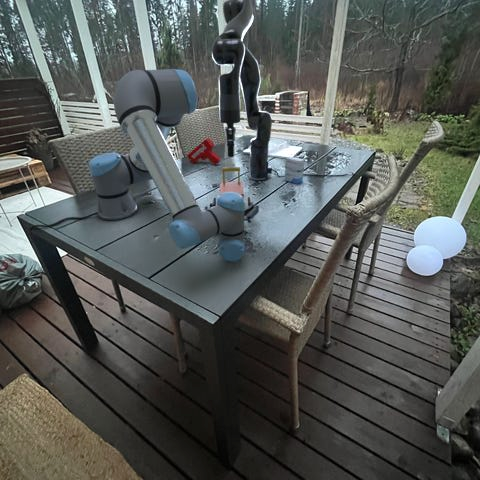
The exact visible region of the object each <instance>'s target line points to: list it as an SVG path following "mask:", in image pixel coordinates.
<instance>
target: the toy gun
mask: <svg viewBox="0 0 480 480" xmlns="http://www.w3.org/2000/svg"><path fill="white" fill-rule="evenodd" d="M213 148H215V143H214V142H212V140H211V138H209V137H208V138H205V139H204V140H203V141H201V143H199V144H198V145H196V147H195V148H194V149H193V150H191V151H190V152H189V153H188V154H187V155H186V157H187V159H188V160H189V161H190V162H191V163H192V164H194V163H197V162H198V161H199V160H200V159H201V160H202V161H205V160H209V161H210V162H211V163H212V165H213V166H215V165H217V164H219V163H220V160H221V156H220V155H218V154H217V153H216V152H214V151H213Z"/></svg>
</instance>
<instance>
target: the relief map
mask: <svg viewBox="0 0 480 480" xmlns="http://www.w3.org/2000/svg"><path fill="white" fill-rule="evenodd" d="M302 147H303V146H294V145H292V144H290V143H289V142H288V141H284V142H282V143H280V144H279V143H278V142H276V141H273V140H272V139H271V138H270V141H269V145H268V157H271V158H277V159H285V160H286V159H287V158H289V157H296V156H297V155H298V154H299V153H300V152H302V151H303V150H304V148H303V149H302ZM250 148H251V145H250V146H249V147H248V148H247V149H245V150H242V153H243V154H247V155H248V154H249V155H250ZM296 153H297V154H296Z"/></svg>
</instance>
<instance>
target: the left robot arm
mask: <svg viewBox="0 0 480 480" xmlns="http://www.w3.org/2000/svg"><path fill="white" fill-rule="evenodd" d="M197 106H198V95H197V89H196V85H195V82H194V81H193V78H192V77H191V75H190V74H189V73H188V72H187V71H185V70H184V69H175V68H170V69H134V70H131V71H129V72H127V73H125V74H124V75H123V76H122V77H120V79H119V81H118V82H117V85H116V87H115V90H114V95H113V109H114V113H115V117H116V120H117V122H118V124H119V126H120V128H121V130H122V131H123V133H125V134H127V135H129V137H130V138H131V140H132V142H133V144H134V145H133V146H132V147H131V148H130V150H129V152H128V153H127V154H122V155H120V154H119V153H118V152H105V153H102V154H99V155H96V156H94V157H93V158H91V159H90V160H89V162H88V169H89V175H90V176H91V179H92V182H93V185H94V189H95V192H96V195H97V197H98V198H97V212H94V213H91V214H88V215H85V216H80V217H79V216H78V217H77V216H69V217H65V218H62V219H60V220H58V221H56V222H54V223H51V224H34V225H32V226H30V227H29V228H28V231H31V230H33V229H34V228H39V227H40V228H49V227H54V226H56V225H58V224H60V223H63V222H65V221H67V220H83V219H84V220H85V219H87V218H90V217H93V216H96V215H98V217H99V218H100V219H101V220H104V221H120V220H124V219H127V218H129V217H132V216H133V215H135V214H136V213H137V212H138V206H137V203H136V202H137V198H136V197H135V196H132V195H131V194H130V192H129V186H131V185H134V184H139V183H142V182H145V181H149V180H152V182H153V183H154V185H155V187H156V189H157V191H158V193H159V194H160V197H161V198H162V200H163V202H164V204H165V206H166V208H167V210H168V212H169V214H170V216H171V218H172V220H173V221H172V222H171V223H170V224H169V227H168V230H169V231H168V232H169V234H170V238H171V240H172V241H173V243H174V244H175V246H177V247H178V248H180V249H183V250H184V249H188V248H191V247H193V246H195V245H199V244H201V243H202V242H204V241H207V240H208V239H211V238H214V237H215V236H217V235H218V236H219V238H218V239H219V245H218V250H219V255H220V257H221V258H222V259H223V260H224V261H226V262H238V261H240V260H242V258H243V257H244V256H245V253H246V252H245V251H246V244H245V222H247V223H249V224H251V223H252V220H253V219H254V218H255V217H256V216H257V215H258V214H259V212H260V211H259V210H260V205H258V204H256V205H254V202H253V201H251V197H250V196H248V197H247V207H245V197H244V198H243V196H242V195H240V194H238V193H235V192H225V193H222V194H220V195H219V194H218V196H217V198H216V197H213V200H212V201H213V202H210V203H209V206H207V205H206V206H204V209H203V210H202V209H201V207H200V205H199V203H198V202H197V200H196V198H195V196H194V194H193V192H192V190H191V188H190V186H189V184H188V182H187V180H186V178H185V176H184V174H183V173H182V171H181V169H180V166H179V165H178V163H177V161H176V159H175V157H174V155H173V153H172V151H171V149H170V147H169V146H168V143H167V141H166V140H167V139H168V137H169V134H170V133H171V130H172V128H174V127H177V126H179V124H180V123H181V121H182V119H183V117H184V115H191V114H193V113H194V112H195V111H196V109H197Z"/></svg>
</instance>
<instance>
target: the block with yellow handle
mask: <svg viewBox="0 0 480 480" xmlns="http://www.w3.org/2000/svg"><path fill="white" fill-rule="evenodd" d="M221 172H222V181H220V182H219V184H220V185H219V192H218V193H219V194H218V196H219V195H220V194H222V193H225V192H235V193H238V194H240V195H242V196H243V197H244V198H245V193H244V182H243V181H241V166H222V167H221ZM225 172H237V181H226V179H225V178H226V176H225Z"/></svg>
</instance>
